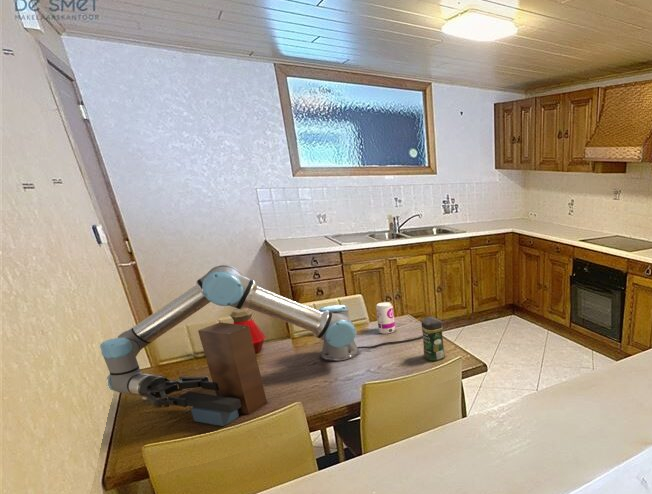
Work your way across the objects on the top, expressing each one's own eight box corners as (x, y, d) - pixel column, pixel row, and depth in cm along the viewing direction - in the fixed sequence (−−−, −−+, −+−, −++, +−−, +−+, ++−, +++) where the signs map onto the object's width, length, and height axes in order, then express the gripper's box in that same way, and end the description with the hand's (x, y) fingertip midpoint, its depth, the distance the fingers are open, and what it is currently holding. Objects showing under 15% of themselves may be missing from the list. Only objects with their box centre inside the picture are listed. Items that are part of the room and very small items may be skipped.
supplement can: (398, 329, 225) (395, 302, 220) (388, 335, 218) (385, 307, 213) (385, 327, 228) (382, 301, 223) (375, 333, 221) (372, 305, 215)
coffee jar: (421, 355, 195) (418, 317, 188) (437, 351, 200) (434, 314, 193) (431, 363, 188) (428, 323, 181) (447, 358, 193) (444, 319, 186)
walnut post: (220, 409, 150) (197, 330, 140) (239, 398, 158) (219, 322, 147) (248, 414, 148) (228, 333, 137) (267, 402, 155) (248, 325, 144)
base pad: (194, 421, 143) (190, 408, 142) (210, 411, 149) (207, 399, 147) (223, 426, 141) (219, 413, 139) (239, 416, 146) (235, 403, 145)
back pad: (180, 404, 144) (177, 396, 143) (191, 398, 147) (189, 391, 146) (231, 412, 139) (229, 404, 138) (241, 406, 143) (239, 398, 142)
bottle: (269, 353, 195) (260, 312, 188) (234, 360, 188) (223, 317, 181) (266, 342, 207) (257, 303, 200) (232, 348, 200) (222, 308, 193)
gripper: (186, 380, 158) (234, 388, 153) (116, 412, 137) (170, 423, 132) (180, 362, 155) (229, 369, 150) (108, 392, 134) (163, 401, 129)
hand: (202, 394), depth 141 cm, fingers open, 10 cm apart
